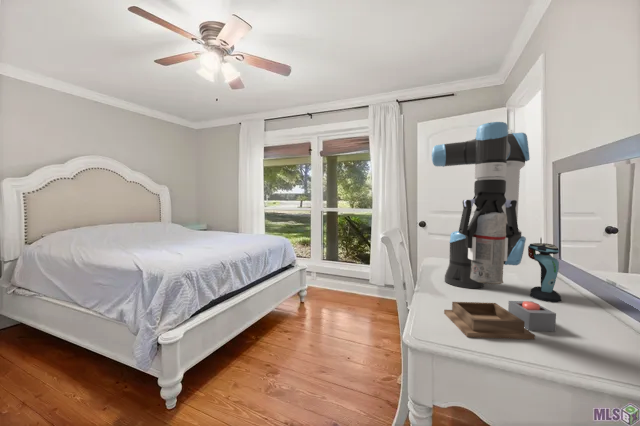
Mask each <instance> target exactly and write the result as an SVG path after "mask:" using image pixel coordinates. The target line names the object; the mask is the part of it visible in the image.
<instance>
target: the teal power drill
mask: <svg viewBox="0 0 640 426" xmlns="http://www.w3.org/2000/svg"><path fill="white" fill-rule="evenodd" d="M536 252H538V253H536ZM559 252H560V250H559V248H558V247H557V246H556V245H555V244H552V243H544V242H543V243H541V242H538V243H537V242H535V243H534V242H533V243H529V245H528V247H527V254H528V257H529V259H531V260H534V262H537V263H538V264H539V266H540V286H534V287H533V288H531V289H530V294H529V296H530V297H531V298H532V299H535V300H539V301H543V302H548V303H561V302H562V296H561V295H560V294H559V293H558V292H557V291H556V290H554V287H555V284H556V280H557V278H558V274H559V269H560V267H559V265H560V262H559V260H558V259H557V258H555V257H554V256H552V255H556V254H559ZM551 254H552V255H551Z"/></svg>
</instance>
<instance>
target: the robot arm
mask: <svg viewBox="0 0 640 426" xmlns="http://www.w3.org/2000/svg"><path fill="white" fill-rule="evenodd" d="M475 134H476V135H475V137H474V139H469V140H466V141H459V142H450V143H442V144H436V145H434V146H433V147H432V151H431V161H432V164H433V166H435V167H443V168H444V167H452V166H453V167H454V166H465V165H468V166H469V165H475V166H474V179H476V180H475V181H474V185H473V187H474V189H473V190H474V191H473V193H474V195H473V198H471V199H463V200H462V213H461V219H460V221H459V222H460V223H459V226H458V227H459V228H458V230H456V231H452V232H451V233H450V238H449V264H448V267H447V269H446V271H445V274H444V282H445V283H447V284H449V285H451V286H455V287H458V288H466V289H479V288H480V289H481V288H483V287H484V286H485V285H484V284H485V283H481V282H477V281H474V280H472V279H471V278H470V275H471V260H475V256H476V237H473V235H474V233H475V231H476V229H477V220H478V217H479V216H480V215H484V214H485V213H488V212H498V213H502V212H503V213H505V214H506V215H507V224H506V238H505V248H504V266H519V265H520V264H521V262H522V259H523V255H524V251H525V246H526V241H527V237H525V236H523V235H522V233H523V232H522V230H520V229H519V225H518V217H519V216H518V215H519V214H518V213H519V195H520V177H521V174H520V173H521V169H522V168H524V166H525V165H526V162H528V161H530V158H531V157H530V150H529V149H530V148H529V140H528V135H527V134H526V132H511V133H509V125H508V124H507V123H506V122H503V121H493V122H492V121H491V122H487V123H483V124H480V125H478V126H477V129H476V133H475ZM474 206H475V209H474V211H473V213H474V214H473V216H472V217H471V215H472V210H473V207H474ZM470 219H471V220H470Z"/></svg>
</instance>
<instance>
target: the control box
mask: <svg viewBox="0 0 640 426" xmlns="http://www.w3.org/2000/svg"><path fill="white" fill-rule="evenodd" d="M528 301H529V302H533V301H531V300H528ZM523 302H524V301H523V300H508V307H507V308H508V309H507V311H509V312H510V313H512V314H513V315H515V316H517V317H518V318H520V319H521V320H523V321H524V322H525V324H524V327H525V329H528V331H529V330H538V331H537V332H556V324H557V321H556V320H557V313H555V312H554V311H551V310H550V309H548V308H546V307H544V306H542V305H540V310H527V309H526V308H524V307H522V304H523Z"/></svg>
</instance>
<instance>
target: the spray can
mask: <svg viewBox="0 0 640 426" xmlns="http://www.w3.org/2000/svg"><path fill="white" fill-rule="evenodd" d="M506 224H507V215H506V214H505V213H503V212H502V213H498V212H488V213H485V214H484V215H480V216H479V217H478V220H477V229H476V231H475V233H474V235H473V237H476V256H475V260H471V275H470V278H471V279H472V280H474V281H477V282H481V283H484V284H487V285H502V284H504V278H503V277H504V266H505V265H504V248H505V238H506Z"/></svg>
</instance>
